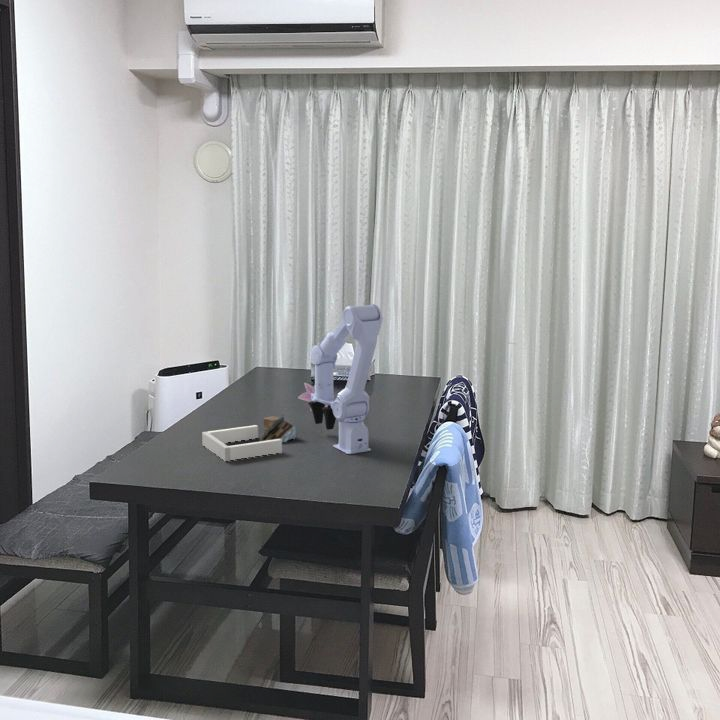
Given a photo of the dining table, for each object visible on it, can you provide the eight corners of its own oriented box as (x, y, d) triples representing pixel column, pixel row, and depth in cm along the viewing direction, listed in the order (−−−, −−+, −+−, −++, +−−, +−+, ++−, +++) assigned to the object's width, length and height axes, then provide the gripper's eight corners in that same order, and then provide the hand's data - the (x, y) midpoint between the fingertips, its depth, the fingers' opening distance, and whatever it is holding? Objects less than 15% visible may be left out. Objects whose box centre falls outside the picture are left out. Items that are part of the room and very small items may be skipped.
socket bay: (281, 453, 247) (281, 439, 246) (225, 461, 239) (225, 448, 238) (256, 437, 263) (256, 425, 263) (202, 445, 255) (202, 432, 254)
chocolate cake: (275, 449, 253) (298, 417, 257) (257, 439, 256) (280, 408, 260) (284, 462, 261) (305, 431, 265) (266, 452, 264) (288, 422, 268)
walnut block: (281, 430, 272) (281, 418, 272) (272, 432, 269) (272, 420, 268) (272, 428, 275) (272, 416, 274) (263, 430, 272) (263, 418, 271)
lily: (292, 413, 298) (299, 392, 292) (299, 393, 307) (305, 373, 302) (325, 423, 298) (332, 403, 293) (330, 404, 308) (337, 384, 303)
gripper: (302, 380, 266) (302, 422, 268) (323, 389, 253) (323, 433, 256) (322, 378, 269) (322, 419, 272) (344, 387, 257) (343, 430, 259)
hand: (324, 426), depth 264 cm, fingers open, 7 cm apart
